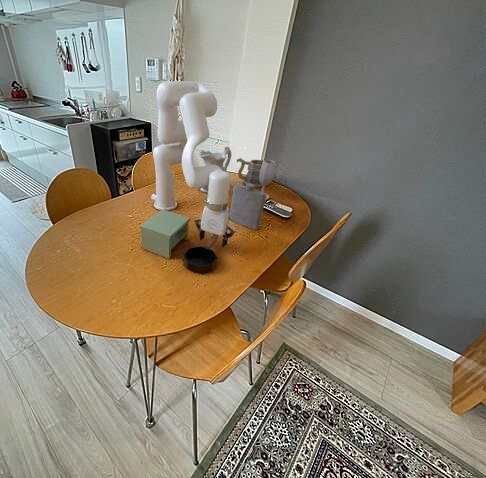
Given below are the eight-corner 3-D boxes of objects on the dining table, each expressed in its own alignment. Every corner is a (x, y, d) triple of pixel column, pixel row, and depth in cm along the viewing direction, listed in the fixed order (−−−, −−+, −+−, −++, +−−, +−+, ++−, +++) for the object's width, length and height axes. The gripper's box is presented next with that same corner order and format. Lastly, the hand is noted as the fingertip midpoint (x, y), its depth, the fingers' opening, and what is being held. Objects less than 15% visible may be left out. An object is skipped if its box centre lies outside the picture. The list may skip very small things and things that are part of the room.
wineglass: (271, 196, 150) (279, 160, 138) (266, 202, 144) (275, 165, 132) (256, 193, 154) (263, 158, 142) (251, 198, 148) (258, 162, 136)
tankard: (265, 181, 169) (271, 159, 160) (262, 188, 159) (268, 165, 151) (235, 176, 175) (239, 154, 167) (231, 183, 166) (234, 160, 157)
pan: (178, 266, 98) (179, 256, 95) (202, 239, 113) (203, 229, 111) (207, 277, 93) (208, 267, 90) (228, 247, 108) (230, 238, 106)
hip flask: (259, 227, 122) (269, 188, 110) (255, 231, 119) (264, 191, 108) (231, 216, 131) (237, 178, 119) (227, 218, 128) (232, 180, 117)
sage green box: (141, 248, 107) (139, 225, 101) (162, 230, 118) (161, 209, 112) (170, 259, 101) (170, 236, 95) (189, 239, 113) (190, 217, 106)
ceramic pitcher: (212, 182, 169) (213, 142, 156) (236, 189, 157) (240, 147, 144) (189, 191, 157) (188, 149, 144) (213, 199, 145) (215, 154, 132)
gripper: (191, 203, 97) (190, 240, 107) (235, 214, 90) (229, 253, 100) (200, 196, 103) (197, 232, 112) (242, 206, 96) (235, 243, 105)
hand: (212, 242), depth 106 cm, fingers open, 9 cm apart
